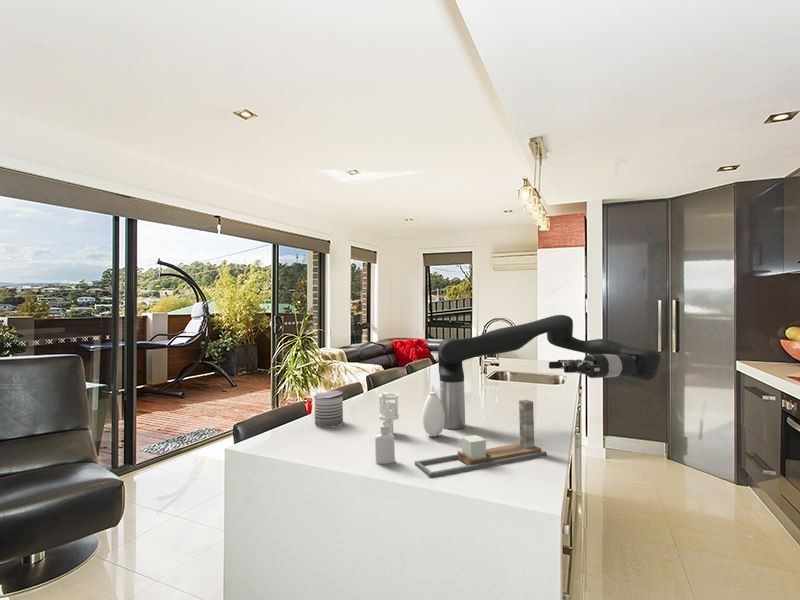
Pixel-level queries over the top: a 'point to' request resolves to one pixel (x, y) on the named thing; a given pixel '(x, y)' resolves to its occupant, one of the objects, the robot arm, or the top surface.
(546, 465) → the top surface
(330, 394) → the can
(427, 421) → the sauce bottle
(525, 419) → the wooden board with post
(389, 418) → the white tall plastic piece
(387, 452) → the eye dropper bottle
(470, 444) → the block
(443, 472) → the track
